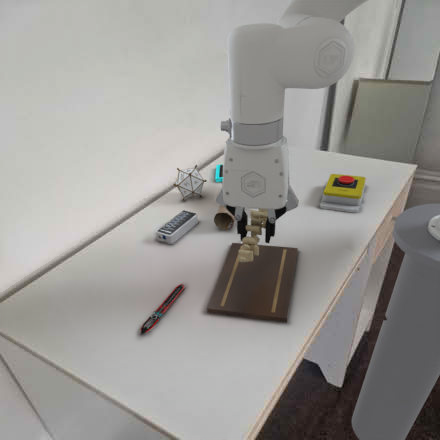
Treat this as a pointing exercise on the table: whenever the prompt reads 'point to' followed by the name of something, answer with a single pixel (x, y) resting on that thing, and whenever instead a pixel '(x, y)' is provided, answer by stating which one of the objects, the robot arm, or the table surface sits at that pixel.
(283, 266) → the board
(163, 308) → the pen
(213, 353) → the table surface
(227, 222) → the mannequin hand
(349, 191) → the emergency button
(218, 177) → the handheld game console
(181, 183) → the game die
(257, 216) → the decorative script
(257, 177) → the robot arm
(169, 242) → the multiport hub
